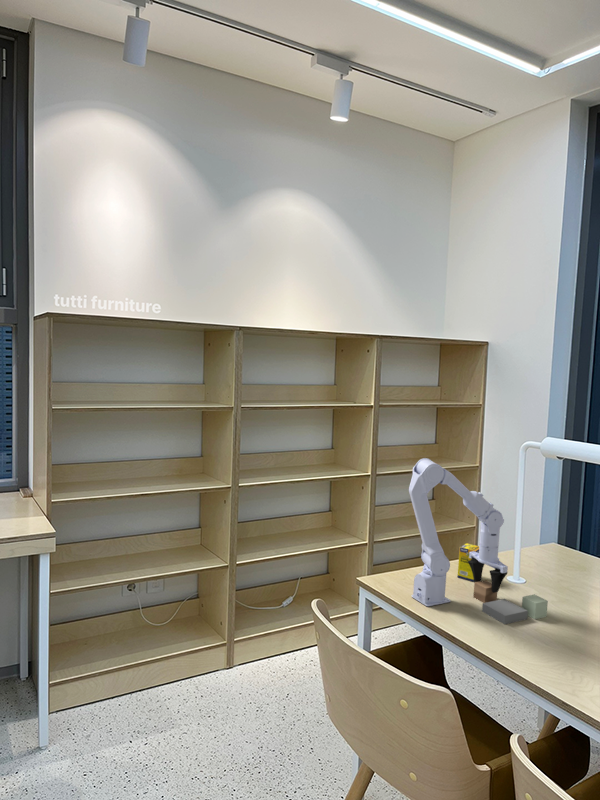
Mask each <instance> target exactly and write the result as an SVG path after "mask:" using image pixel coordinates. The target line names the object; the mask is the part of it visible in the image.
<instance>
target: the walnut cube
mask: <svg viewBox="0 0 600 800" xmlns="http://www.w3.org/2000/svg"><path fill="white" fill-rule="evenodd" d="M473 584H474V585H473V596H472V597H473V599H475V598H476V600H477V599H478V601H479V602H481V603H482V604H483V603H486V602H491V601H496V600H498V592H495V593H493V592H492V581H491V582H490V581H489V580H486V579H485V580H481V581H479V582H473Z"/></svg>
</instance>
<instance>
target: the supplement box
mask: <svg viewBox="0 0 600 800" xmlns="http://www.w3.org/2000/svg"><path fill="white" fill-rule="evenodd" d="M458 549H459V551H458V552H459V553H458V566H457V567H458V568H457V578H458V579H463V580H465V581H469V582H473V583H474V578H473V573H472V570H471V567H470V565H469V563H468V561H469V560H471V558H469V552H472V551H475V552H477V553H479V545H474V544H472V543H468V542H467V543H464V544H463V545H461V546H459V548H458Z"/></svg>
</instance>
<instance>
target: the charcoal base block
mask: <svg viewBox="0 0 600 800" xmlns="http://www.w3.org/2000/svg"><path fill="white" fill-rule="evenodd" d="M481 612H482V613H484V614H485V615H487V616H489V617H491V618H492V619H494V620H496V621H498V622H499V623H501V624H503V625H508V624H513V623H517V622H521V621H526V620H528V616H527V614H528V611H527V610H525V609H524V608H522V606H520V605H518V604H515V603H513V602H512V601H510V600H508V599H505V598H501V599H497V600H496V601H491V602H486V603H483V602H482V605H481Z"/></svg>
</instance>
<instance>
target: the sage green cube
mask: <svg viewBox="0 0 600 800" xmlns="http://www.w3.org/2000/svg"><path fill="white" fill-rule="evenodd" d="M521 599H522V601H521V607H522V608H524V609H525V610H527V611H528V614H527V617H529V618H531V619H533V620H539V619H542V618H546V617H548V614H547V613H548V604H549V603H548V602H549V600H547V599H545V598H543V597H541V596H539V595H537V594H530V595H524V596H522V598H521Z"/></svg>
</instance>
